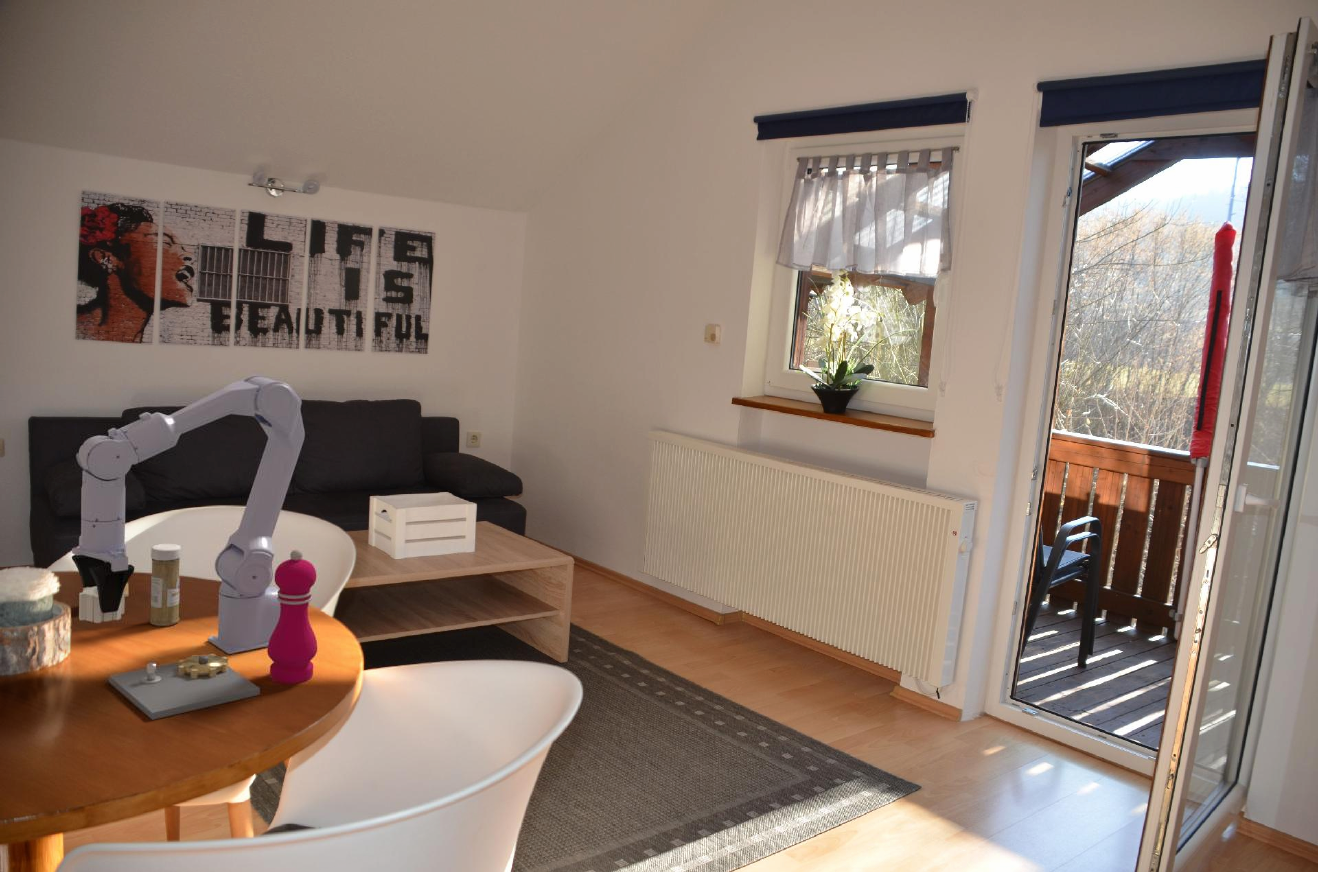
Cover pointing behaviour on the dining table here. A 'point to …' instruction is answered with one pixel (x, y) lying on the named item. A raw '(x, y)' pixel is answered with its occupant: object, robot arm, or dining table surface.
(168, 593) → the sprinkles bottle
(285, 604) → the pepper mill
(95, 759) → the dining table surface
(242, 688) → the gear board
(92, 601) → the gear
